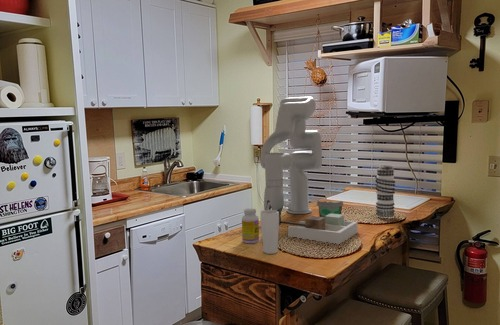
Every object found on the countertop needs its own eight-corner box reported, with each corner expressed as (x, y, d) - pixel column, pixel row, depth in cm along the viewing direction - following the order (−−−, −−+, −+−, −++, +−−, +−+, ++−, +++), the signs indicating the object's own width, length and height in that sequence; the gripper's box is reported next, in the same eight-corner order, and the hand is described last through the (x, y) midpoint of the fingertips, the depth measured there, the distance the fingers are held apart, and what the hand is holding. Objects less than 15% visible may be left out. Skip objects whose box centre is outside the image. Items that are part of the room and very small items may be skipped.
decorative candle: (372, 215, 206) (373, 165, 204) (391, 215, 206) (392, 164, 203) (377, 219, 197) (378, 167, 195) (397, 219, 197) (398, 166, 194)
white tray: (288, 236, 171) (288, 226, 170) (309, 226, 187) (309, 216, 187) (339, 244, 159) (339, 232, 158) (357, 232, 175) (357, 221, 175)
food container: (314, 223, 192) (314, 202, 191) (317, 220, 198) (317, 199, 197) (341, 225, 188) (341, 203, 187) (343, 222, 194) (343, 200, 193)
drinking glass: (266, 256, 147) (265, 214, 145) (258, 251, 153) (257, 210, 152) (283, 253, 149) (282, 212, 148) (274, 248, 156) (273, 208, 154)
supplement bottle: (256, 244, 162) (255, 211, 160) (240, 243, 163) (239, 211, 162) (260, 239, 168) (260, 208, 167) (245, 238, 170) (244, 207, 169)
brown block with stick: (268, 228, 179) (268, 214, 178) (275, 225, 184) (275, 211, 183) (319, 235, 166) (318, 220, 165) (325, 231, 171) (325, 217, 170)
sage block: (325, 230, 174) (325, 216, 174) (330, 227, 179) (330, 213, 179) (338, 232, 171) (338, 217, 170) (344, 228, 176) (344, 214, 175)
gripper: (276, 180, 187) (276, 220, 189) (256, 185, 174) (257, 228, 175) (291, 181, 183) (291, 222, 185) (272, 186, 170) (273, 230, 171)
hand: (275, 224), depth 180 cm, fingers closed on brown block with stick, 3 cm apart
